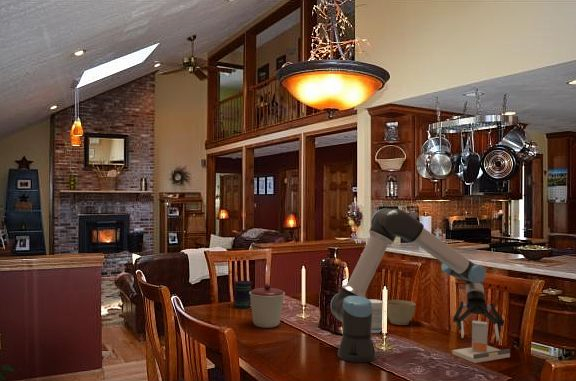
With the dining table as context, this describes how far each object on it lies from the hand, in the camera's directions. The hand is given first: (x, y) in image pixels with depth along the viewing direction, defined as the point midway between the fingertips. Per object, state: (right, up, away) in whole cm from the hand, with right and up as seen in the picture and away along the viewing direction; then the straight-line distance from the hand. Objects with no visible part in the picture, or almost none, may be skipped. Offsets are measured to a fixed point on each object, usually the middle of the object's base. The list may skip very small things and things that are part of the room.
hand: (480, 337), depth 195 cm
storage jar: (-107, -8, +81) cm, 134 cm away
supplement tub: (-38, -8, +36) cm, 53 cm away
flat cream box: (+1, -8, +1) cm, 8 cm away
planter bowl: (-21, -9, +52) cm, 57 cm away
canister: (-91, -7, +41) cm, 100 cm away
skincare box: (+1, -6, +2) cm, 7 cm away
